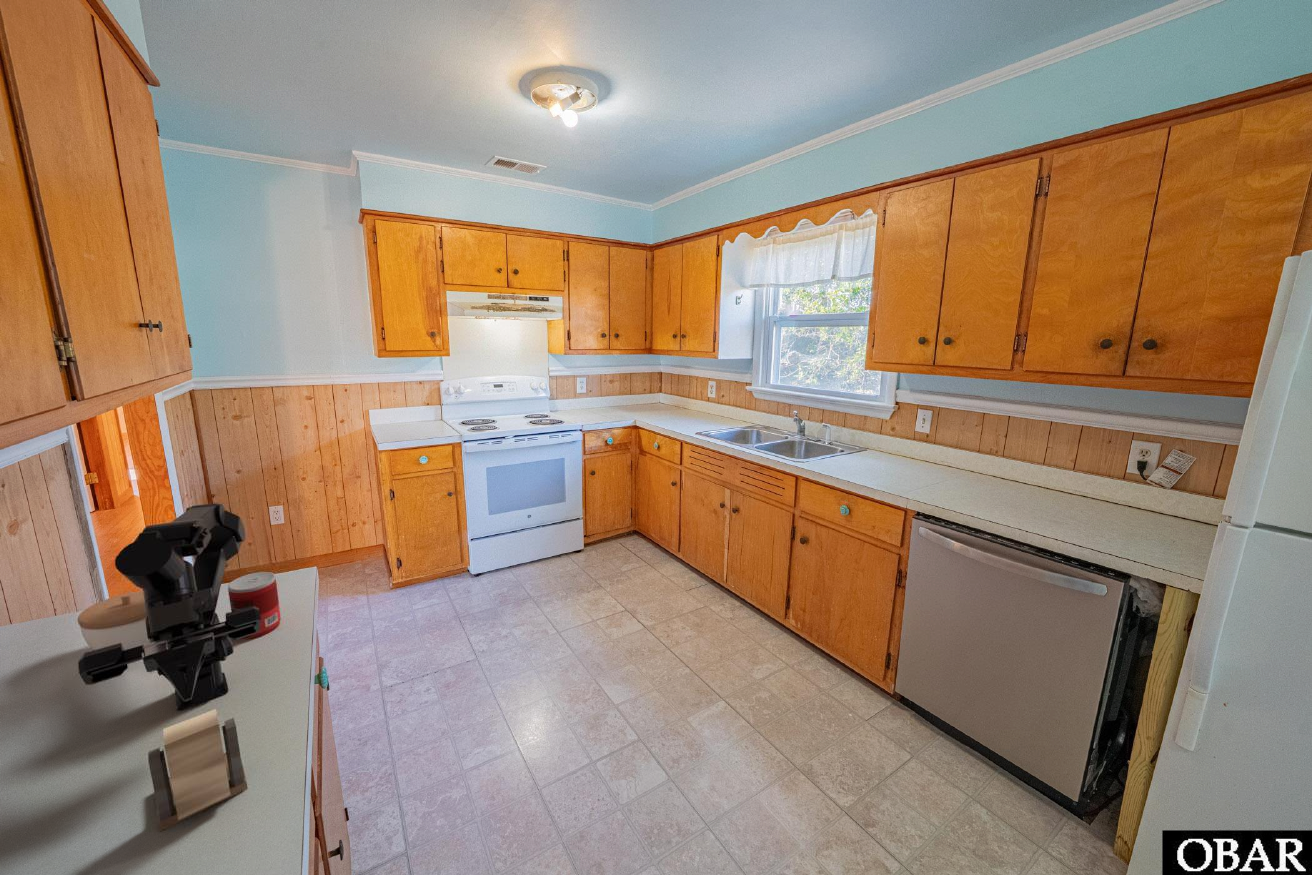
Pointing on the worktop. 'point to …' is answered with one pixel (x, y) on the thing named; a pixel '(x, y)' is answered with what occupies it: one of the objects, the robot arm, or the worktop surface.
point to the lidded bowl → (115, 622)
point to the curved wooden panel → (196, 763)
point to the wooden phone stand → (163, 781)
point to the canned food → (257, 598)
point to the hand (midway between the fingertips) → (187, 699)
